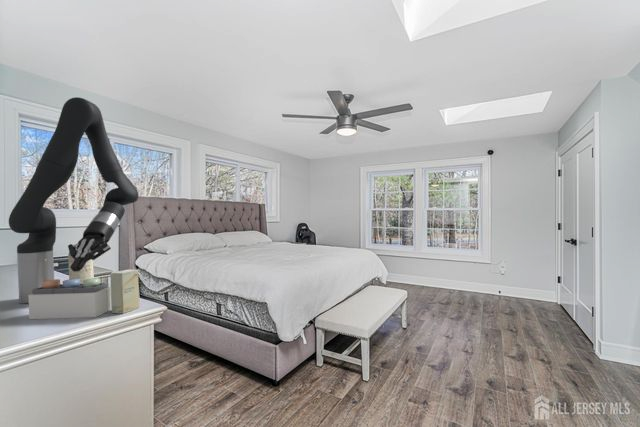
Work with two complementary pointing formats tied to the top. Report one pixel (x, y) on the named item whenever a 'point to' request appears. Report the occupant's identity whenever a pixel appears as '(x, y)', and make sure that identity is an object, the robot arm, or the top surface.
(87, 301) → the button console
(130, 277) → the skincare box
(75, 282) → the slate blue button
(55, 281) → the terracotta button
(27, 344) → the top surface
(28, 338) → the top surface
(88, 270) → the aerosol can
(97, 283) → the sage button
